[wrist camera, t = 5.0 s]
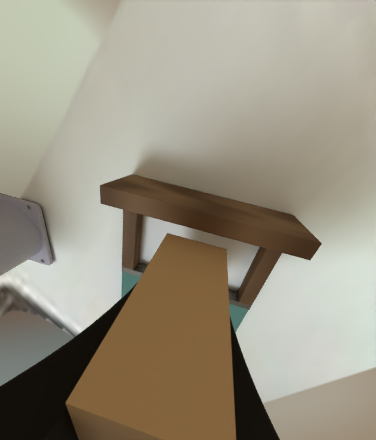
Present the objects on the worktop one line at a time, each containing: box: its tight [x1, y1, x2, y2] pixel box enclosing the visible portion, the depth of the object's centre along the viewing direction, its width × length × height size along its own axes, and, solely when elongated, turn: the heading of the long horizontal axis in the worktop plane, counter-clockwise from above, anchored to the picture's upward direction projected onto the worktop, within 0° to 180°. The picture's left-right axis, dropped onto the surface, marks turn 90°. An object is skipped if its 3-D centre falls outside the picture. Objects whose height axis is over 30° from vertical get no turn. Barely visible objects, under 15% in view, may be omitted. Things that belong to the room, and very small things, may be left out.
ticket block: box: [66, 233, 236, 440], centre depth 9 cm, size 4×6×8 cm, turn 168°
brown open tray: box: [100, 175, 322, 310], centre depth 13 cm, size 13×10×4 cm
